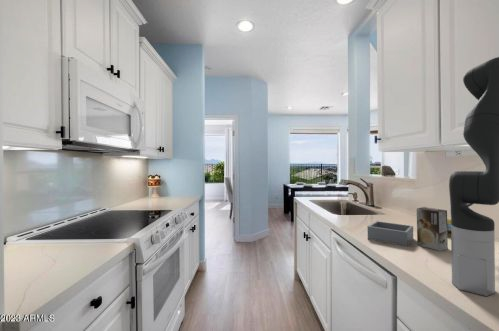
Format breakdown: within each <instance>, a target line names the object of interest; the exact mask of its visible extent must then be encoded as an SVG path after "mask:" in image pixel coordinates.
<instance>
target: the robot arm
mask: <svg viewBox="0 0 499 331" xmlns="http://www.w3.org/2000/svg"><path fill="white" fill-rule="evenodd" d="M462 82H463V84H464V86H465V88H466V89H467V91H468V92H469V93H470V94H471V95H472V96H473V97H474V98H475V99H476V100H477V101H476V103H475V104H474V105H473V106H472V108H470V110H469V112H468V114H467V115H466V117H465V120H464V127H463V134H462V135H463V138H464V140H465V142H466V143H467V144H468V146H469V147H470V148H471V149H472V150H473V151H474V152H475V153H476V154H477V156H478V157H479V158H480V159H481V160H482V162H483V164H484V166H485V170H483V171H475V170H473V171H469V170H468V171H465V170H464V171H463V170H462V171H460V170H459V171H457V170H456V171H454V172H452V173H451V174H450V176H449V180H448V182H449V183H448V188H449V202H450V204H449V205H450V219H451V239H450V240H451V242H450V243H451V244H450V245H451V246H450V248H451V283H452V285H454V286H455V287H457V290H461V291H464V292H469V293H473V294H477V295H480V296H485V297H489V296H490V295H494V294H495V293H496V270H495V269H496V265H495V264H496V258H495V256H496V255H495V251H496V250H495V249H496V248H495V243H496V242H495V238H496V237H495V236H496V235H495V232H496V231H495V227H496V226H495V225H496V224H495V221H494V220H493V219H492V218H491V217H489V216H487V215H483V214H481V213H478V212H477V211H474V210H473V209H471V208H470V207H471V206H473V205H485V206H495V205H497V204H499V56H498V57H494V58H492V59H489V60H487V61H484V62H483V63H481V64H479V65H477V66H475V67H473V68H471V69H470V70H467V71H466V72H465V73H464V74H463V78H462Z"/></svg>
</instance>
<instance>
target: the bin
mask: <svg viewBox="0 0 499 331" xmlns="http://www.w3.org/2000/svg"><path fill="white" fill-rule="evenodd" d="M367 239H368V240H370V241H377V242H382V243H388V244H392V245H399V246H403V247H409V244H411V242H412V241H413V240H414V225H410V224H409V225H407V224H400V223H393V222H386V221H379V220H376V221H374V222H373V223H370V224H369V225H368V226H367Z"/></svg>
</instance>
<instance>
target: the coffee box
mask: <svg viewBox="0 0 499 331" xmlns="http://www.w3.org/2000/svg"><path fill="white" fill-rule="evenodd" d="M447 219H448V210H446V209H439V208H434V207H433V208H432V207H426V206H424V207H423V206H422V207H417V208H416V234H417V236H416V238H417V239H416V240H417V243H416V244H417V246H421V247H424V248H428V249H431V250H435V251H439V252H441V251H445V250H448V249H449V246H448V243H449V242H448V241H449V240H448V239H449V238H448V237H449V236H447Z"/></svg>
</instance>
